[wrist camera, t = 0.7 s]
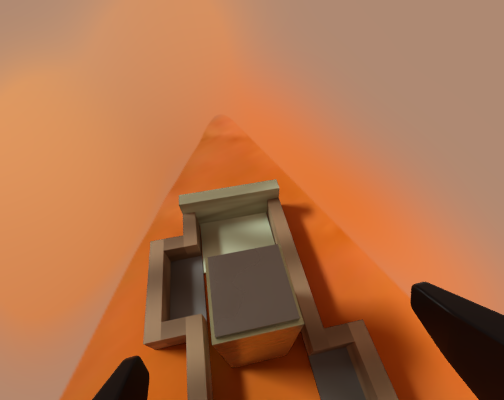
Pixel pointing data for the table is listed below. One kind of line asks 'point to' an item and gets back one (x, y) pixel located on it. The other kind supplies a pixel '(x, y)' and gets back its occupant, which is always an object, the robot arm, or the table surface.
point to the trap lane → (194, 304)
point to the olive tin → (252, 305)
